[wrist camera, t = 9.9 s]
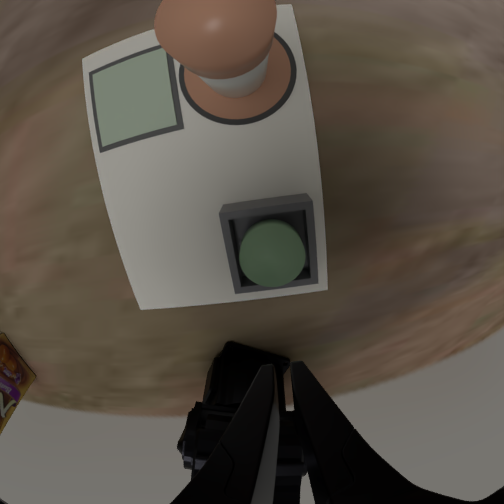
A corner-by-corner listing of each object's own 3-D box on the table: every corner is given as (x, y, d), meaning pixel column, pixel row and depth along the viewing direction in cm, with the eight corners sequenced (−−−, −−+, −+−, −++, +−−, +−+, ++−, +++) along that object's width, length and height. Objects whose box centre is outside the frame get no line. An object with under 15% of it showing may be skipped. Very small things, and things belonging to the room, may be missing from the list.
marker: (277, 54, 15) (294, -12, 6) (254, 108, 16) (249, 81, 8) (217, 36, 14) (184, -35, 6) (194, 89, 16) (136, 53, 7)
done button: (304, 271, 19) (307, 282, 18) (245, 279, 19) (244, 290, 18) (299, 215, 17) (302, 222, 16) (235, 223, 18) (233, 231, 16)
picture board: (326, 286, 22) (328, 291, 22) (142, 306, 24) (139, 311, 23) (290, 7, 14) (291, 3, 13) (85, 59, 15) (80, 58, 14)
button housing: (312, 268, 21) (318, 283, 19) (237, 278, 22) (235, 294, 19) (306, 193, 19) (312, 200, 17) (223, 204, 19) (218, 213, 17)
